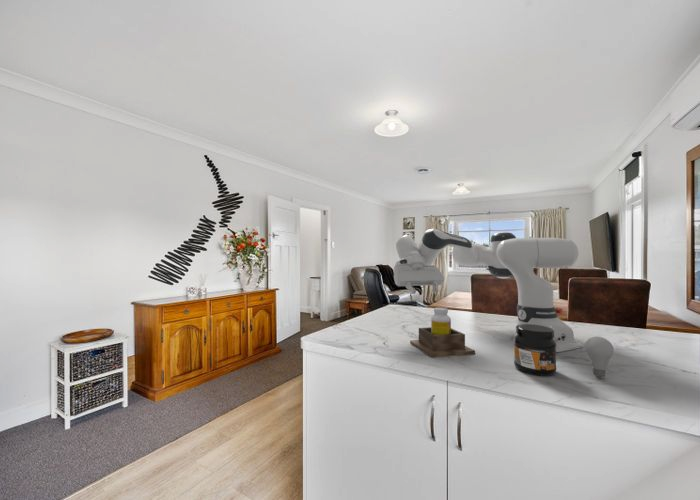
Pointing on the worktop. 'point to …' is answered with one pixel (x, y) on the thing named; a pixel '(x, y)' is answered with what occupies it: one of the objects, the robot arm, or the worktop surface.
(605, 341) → the lightbulb
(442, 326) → the supplement bottle
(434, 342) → the bottle caddy
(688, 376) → the worktop surface
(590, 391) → the worktop surface
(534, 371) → the supplement container
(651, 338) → the worktop surface
